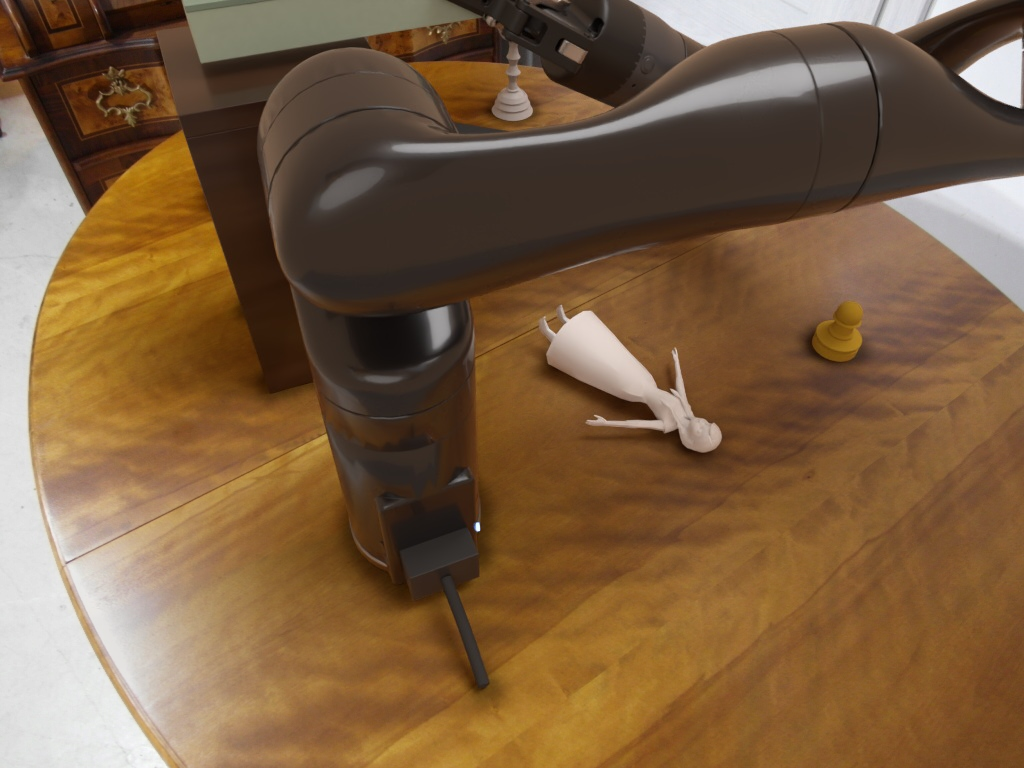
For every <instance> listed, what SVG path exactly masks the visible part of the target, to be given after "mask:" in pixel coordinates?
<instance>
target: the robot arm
mask: <svg viewBox="0 0 1024 768" xmlns="http://www.w3.org/2000/svg"><path fill="white" fill-rule="evenodd" d="M447 1H449V2H451V3H453V4H456V5H458V6H460V7H462V8H464V9H466V10H469V11H471V12H473V13H475V14H477V15H479V16H482V17H483V16H484V13H485V16H484V17H483V18H482V20H483V21H485V22H486V25H488V26H490V27H491V28H496V29H497V28H499V29H501V31H502V32H501V34H502V35H503V36H504V37H505V39H506V40H505V39H504V40H505V41H507V40H508V41H507V42H509V41H510V42H511V41H512V42H514V43H516V44H518V46H520V47H521V48H524V49H525V50H528V51H530V52H531V53H534V54H535V55H537V56H539V58H540V63H541V68H542V70H543V72H544V74H545V75H546V77H547V78H548V79H549V80H550V81H551V82H552V83H553V82H554V83H555V84H558V85H560V86H562V87H564V88H567V89H569V90H571V91H574V92H576V93H578V94H580V95H583V96H585V97H587V98H590V99H593V100H595V101H597V102H600V103H602V104H604V105H607V106H608V107H611V109H608V110H607V111H605V112H602V113H599V114H596V115H593V116H590V117H587V118H584V119H579V120H573V121H570V122H566V123H559V124H553V125H545V126H537V127H531V128H525V129H524V128H523V129H517V130H511V131H510V130H507V131H508V132H497V133H480V134H459V132H458V130H457V128H456V126H455V124H454V122H455V121H453V118H452V116H451V115H450V113H449V111H448V109H447V107H446V105H445V103H444V101H443V99H442V98H441V96H440V94H439V93H438V91H437V90H436V88H434V86H433V84H431V83H430V81H429V80H428V79H427V78H426V77H425V76H424V75H423V74H421V72H419V71H418V70H417V69H416V68H414V67H413V66H412V65H410V64H409V63H407V62H406V61H404V60H402V59H400V58H399V57H397V56H394V55H393V54H390V53H387V52H384V51H380V50H376V49H373V48H372V49H373V50H372V49H366V48H355V47H350V48H340V49H333V50H328V51H325V52H322V53H319V54H317V55H314V56H312V57H310V58H308V59H306V60H305V61H303V62H301V63H300V64H298V65H297V66H296V67H294V68H293V69H292V70H291V71H290V72H289V73H287V74H286V75H285V76H284V78H283V79H282V80H281V81H280V82H279V83H278V85H277V86H276V87H275V89H274V90H273V92H272V93H271V95H270V97H269V98H268V100H267V102H266V105H265V107H264V109H263V112H262V115H261V118H260V122H259V127H258V134H257V155H258V162H259V167H260V172H261V178H262V184H263V189H264V195H265V200H266V206H267V211H268V217H269V222H270V227H271V232H272V237H273V242H274V247H275V251H276V255H277V258H278V261H279V264H280V266H281V269H282V271H283V273H284V275H285V277H286V279H287V280H288V282H289V284H290V288H291V293H292V297H293V302H294V306H295V310H296V315H297V319H298V323H299V328H300V332H301V337H302V341H303V345H304V349H305V352H306V356H307V359H308V363H309V367H310V370H311V374H312V378H313V385H314V389H315V394H316V397H317V400H318V404H319V409H320V412H321V413H320V414H321V417H322V420H323V424H324V425H323V426H324V428H325V432H326V435H327V439H328V444H329V447H330V451H331V455H332V458H333V463H334V466H335V470H336V475H337V477H338V481H339V485H340V489H341V493H342V496H343V500H344V504H345V508H346V511H347V515H348V521H349V522H348V523H349V528H350V533H351V536H352V539H353V542H354V544H355V546H356V548H357V550H358V551H359V553H360V554H361V555H362V556H363V558H365V559H366V561H367V562H369V563H370V564H371V565H373V566H374V567H376V568H378V569H380V570H382V571H384V572H387V573H388V574H389V576H390V579H391V582H392V584H393V585H395V586H399V585H401V584H404V583H406V585H407V587H408V590H409V593H410V596H411V599H412V601H413V602H416V601H418V600H421V599H423V598H426V597H429V596H432V595H434V594H437V593H440V592H442V591H443V592H444V594H445V597H446V601H447V603H448V605H449V608H450V612H451V613H452V617H453V619H454V621H455V624H456V627H457V630H458V633H459V635H460V638H461V642H462V644H463V647H464V650H465V653H466V656H467V658H468V662H469V664H470V668H471V671H472V673H473V677H474V680H475V684H476V686H477V688H478V689H480V690H481V689H482V690H483V689H485V688H487V687H488V686H489V685H490V684H491V683H490V679H489V676H488V673H487V670H486V667H485V664H484V661H483V657H482V655H481V652H480V649H479V646H478V643H477V640H476V637H475V635H474V632H473V629H472V627H471V623H470V621H469V618H468V615H467V613H466V610H465V607H464V605H463V601H462V599H461V597H460V595H459V591H458V589H457V587H456V586H459V585H462V584H464V583H467V582H470V581H472V580H475V579H477V578H480V553H479V551H478V535H479V532H480V531H481V522H482V509H481V508H482V504H481V498H480V483H479V482H480V481H479V456H478V455H479V453H478V452H479V451H478V418H477V416H478V415H477V375H476V373H477V371H476V331H475V329H476V328H475V319H474V313H473V309H472V305H471V300H472V299H476V298H479V297H482V296H486V295H489V294H491V293H495V292H498V291H501V290H506V289H507V288H511V287H514V286H517V285H521V284H524V283H527V282H531V281H534V280H537V279H540V278H543V277H547V276H550V275H553V274H556V273H559V272H560V273H561V272H563V271H567V270H569V269H573V268H576V267H580V266H585V265H587V264H590V263H595V262H598V261H602V260H606V259H609V258H610V259H611V258H615V257H620V256H622V255H623V256H624V255H628V254H632V253H636V252H637V253H638V252H641V251H646V250H651V249H655V248H660V247H664V246H668V245H673V244H677V243H681V242H685V241H686V242H687V241H690V240H695V239H699V238H704V237H708V236H713V235H714V236H715V235H718V234H722V233H727V232H734V231H741V230H747V229H755V228H756V229H757V228H762V227H769V226H776V225H780V224H786V223H790V222H795V221H801V220H806V219H811V218H816V217H822V216H826V215H827V216H828V215H832V214H836V213H841V212H845V211H849V210H854V209H858V208H862V207H866V206H871V205H876V204H879V203H883V202H888V201H893V200H897V199H902V198H905V197H910V196H915V195H919V194H923V193H928V192H933V191H937V190H940V189H946V188H951V187H958V186H961V185H969V184H974V183H981V182H988V181H996V180H1002V179H1011V178H1019V177H1020V178H1021V177H1024V0H973V1H970V2H967V3H965V4H963V5H960V6H957V7H955V8H952V9H950V10H948V11H945V12H943V13H941V14H937V15H936V16H935V15H934V16H933V17H931V18H928V19H926V20H924V21H921V22H918V23H917V24H915V25H912V26H910V27H907V28H905V29H902V30H900V31H896V32H891V31H889V30H886V29H884V28H882V27H880V26H877V25H873V24H869V23H866V22H865V23H863V22H859V21H849V20H842V21H840V20H839V21H834V22H833V21H832V22H822V23H815V24H814V23H813V24H808V25H800V26H791V27H784V28H779V29H778V28H777V29H769V30H761V31H757V32H751V33H746V34H740V35H737V36H733V37H729V38H726V39H725V38H724V39H721V40H719V41H717V42H714V43H712V44H709V45H705V44H702V43H700V42H698V41H697V40H695V39H693V38H691V37H689V36H688V35H685V34H684V33H682V32H680V31H678V30H677V29H675V28H673V27H672V26H671V25H669V23H667V22H666V21H664V20H663V19H662V18H661V17H660V16H658V15H657V14H655V13H653V12H651V11H650V10H648V9H646V8H644V7H642V6H641V5H638V4H637V3H635V2H634V1H632V0H447ZM515 1H516V2H515ZM1019 40H1021V49H1022V51H1021V72H1020V73H1021V75H1020V105H1019V107H1017V106H1015V105H1012V104H1009V103H1006V102H1004V101H1000V100H998V99H996V98H994V97H992V96H990V95H988V94H987V93H985V92H983V90H980V89H979V88H977V87H976V86H974V85H973V84H971V83H970V82H969V81H967V80H966V79H964V78H963V77H962V76H961V74H962V73H963V72H965V71H966V70H967V69H969V68H970V67H971V66H973V65H974V64H975V63H977V62H978V61H980V60H981V59H983V58H984V57H986V56H987V55H989V54H990V53H992V52H994V51H996V50H998V49H1000V48H1002V47H1004V46H1006V45H1007V46H1008V44H1011V43H1013V42H1016V41H1019Z"/></svg>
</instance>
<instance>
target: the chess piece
mask: <svg viewBox="0 0 1024 768" xmlns="http://www.w3.org/2000/svg"><path fill="white" fill-rule="evenodd" d="M863 317H864V309H863V307H862V306H861V305H860V304H859V303H858V302H856V301H853V300H847V301H844V302H842V303H840V304H838V306H837V308H836V310H835V311H833V313H832V319H828V320H824V321H822V322H820V323H819V324H818V325H817V326H816V328H815V331H814V334H813V336H812V339H811V345H812V348H813V349H814V351H815V352H816V353H817V354H819V356H821V357H823V358H824V359H826V360H829V361H832V362H837V363H839V362H840V363H841V362H843V363H844V362H849V361H851V360H852V359H854V358H855V357H856V356H857V353H858V351H859V349H860V348H861V346H862V344H863V336H862V334H861V332H860V331H859V330H858V329H857V328H859V327H861V325H862V324H863Z"/></svg>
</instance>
